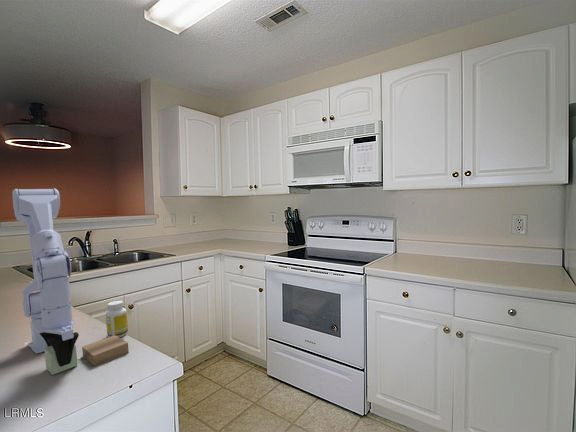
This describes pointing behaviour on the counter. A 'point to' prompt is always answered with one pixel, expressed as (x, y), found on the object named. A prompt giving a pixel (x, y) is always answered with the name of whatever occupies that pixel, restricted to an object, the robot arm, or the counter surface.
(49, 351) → the sage cube
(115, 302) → the supplement bottle
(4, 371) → the counter surface
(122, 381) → the counter surface
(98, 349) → the walnut block
